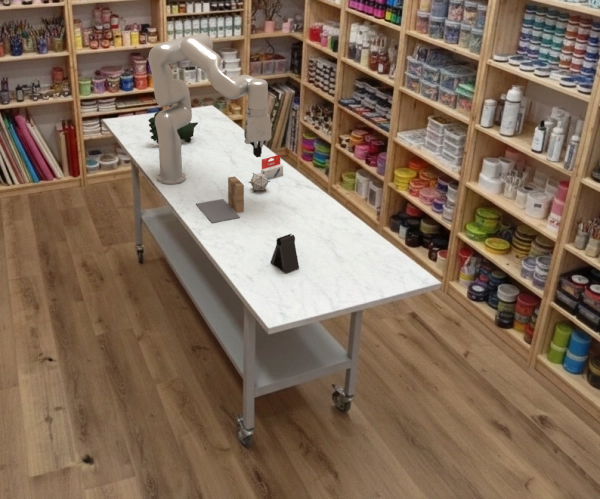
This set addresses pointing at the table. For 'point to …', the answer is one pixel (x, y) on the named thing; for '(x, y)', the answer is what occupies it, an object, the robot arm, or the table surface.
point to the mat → (217, 211)
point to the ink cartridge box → (272, 167)
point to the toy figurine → (183, 132)
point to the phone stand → (285, 254)
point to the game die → (259, 181)
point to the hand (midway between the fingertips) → (257, 155)
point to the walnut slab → (235, 194)
